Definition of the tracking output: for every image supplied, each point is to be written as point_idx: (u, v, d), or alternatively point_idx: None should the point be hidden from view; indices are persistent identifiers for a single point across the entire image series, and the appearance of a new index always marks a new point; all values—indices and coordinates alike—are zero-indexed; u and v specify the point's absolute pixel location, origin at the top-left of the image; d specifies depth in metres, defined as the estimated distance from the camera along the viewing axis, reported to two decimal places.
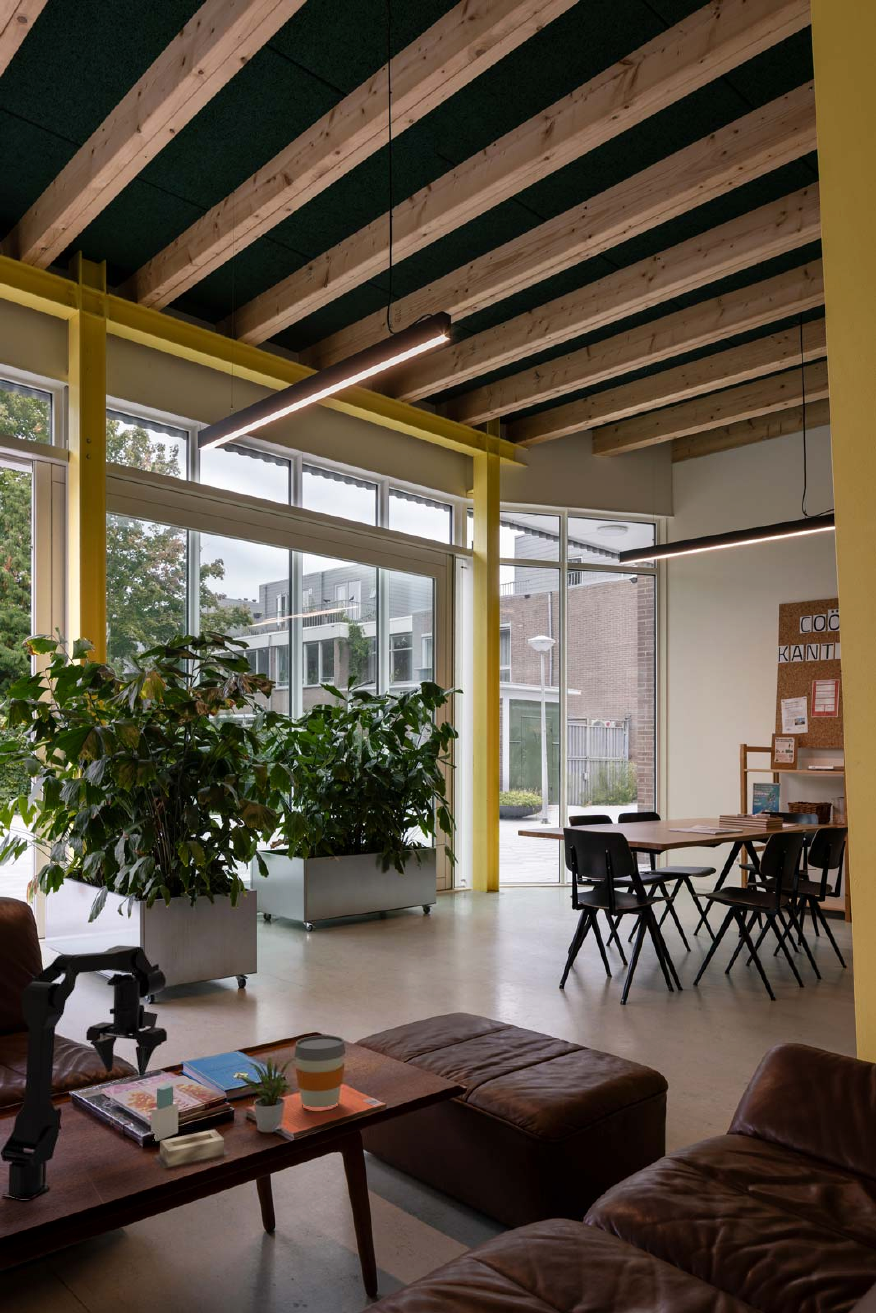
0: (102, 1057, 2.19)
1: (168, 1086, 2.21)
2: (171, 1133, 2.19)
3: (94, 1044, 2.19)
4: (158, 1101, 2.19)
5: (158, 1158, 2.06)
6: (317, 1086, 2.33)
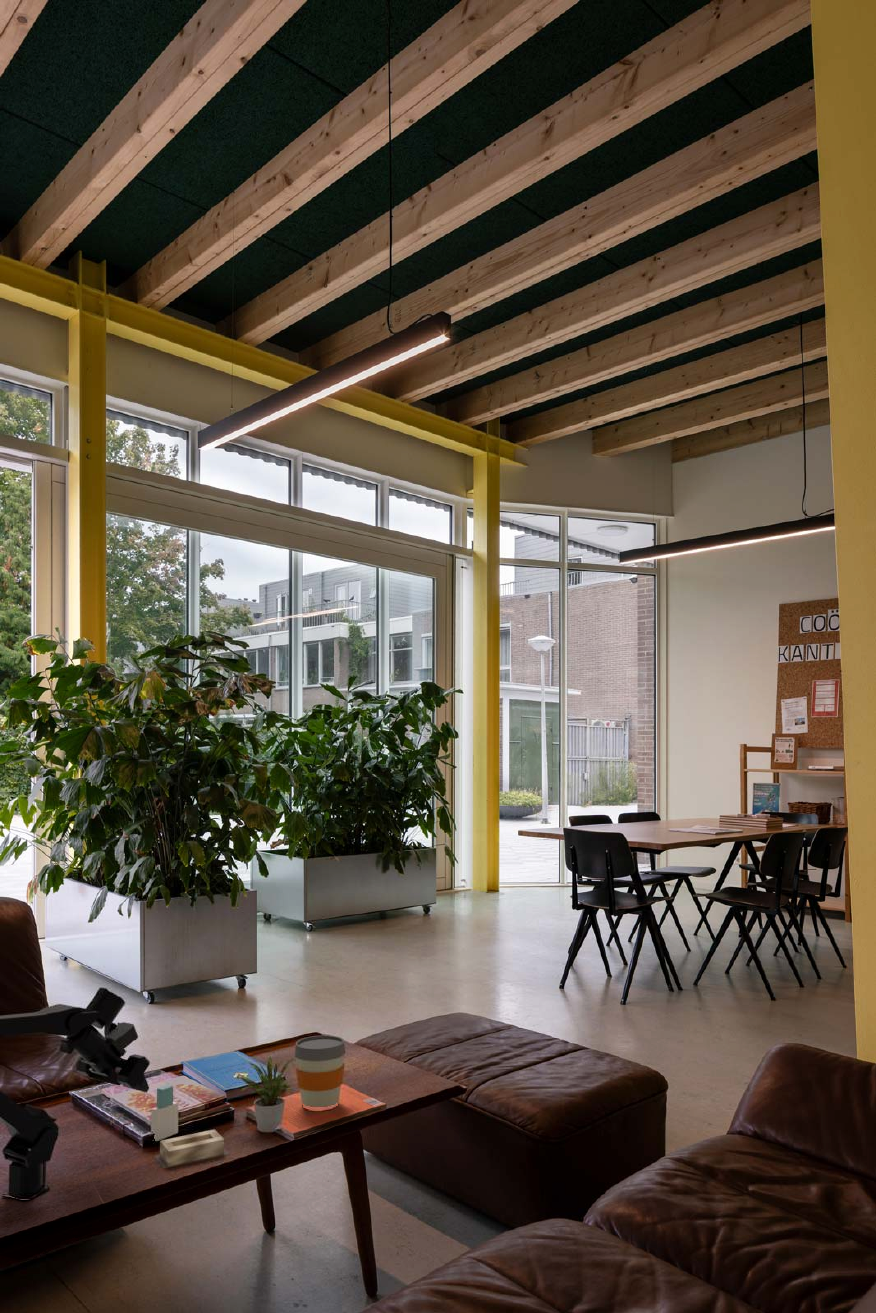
0: (105, 1081, 2.13)
1: (168, 1086, 2.21)
2: (171, 1133, 2.19)
3: (90, 1077, 2.12)
4: (158, 1101, 2.19)
5: (158, 1158, 2.06)
6: (317, 1086, 2.33)
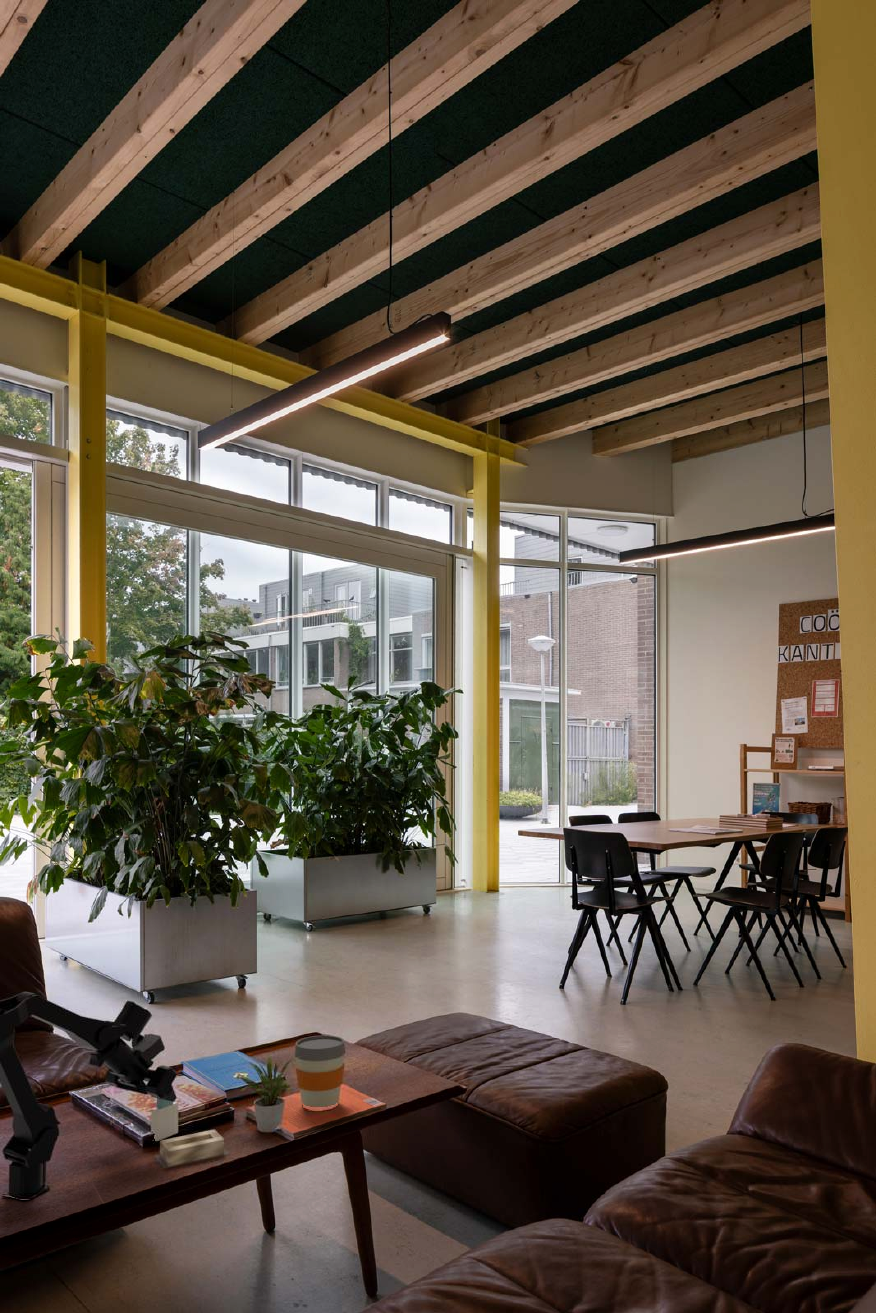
0: (133, 1091, 2.19)
1: None
2: (171, 1133, 2.19)
3: (118, 1087, 2.18)
4: (158, 1101, 2.19)
5: (158, 1158, 2.06)
6: (317, 1086, 2.33)
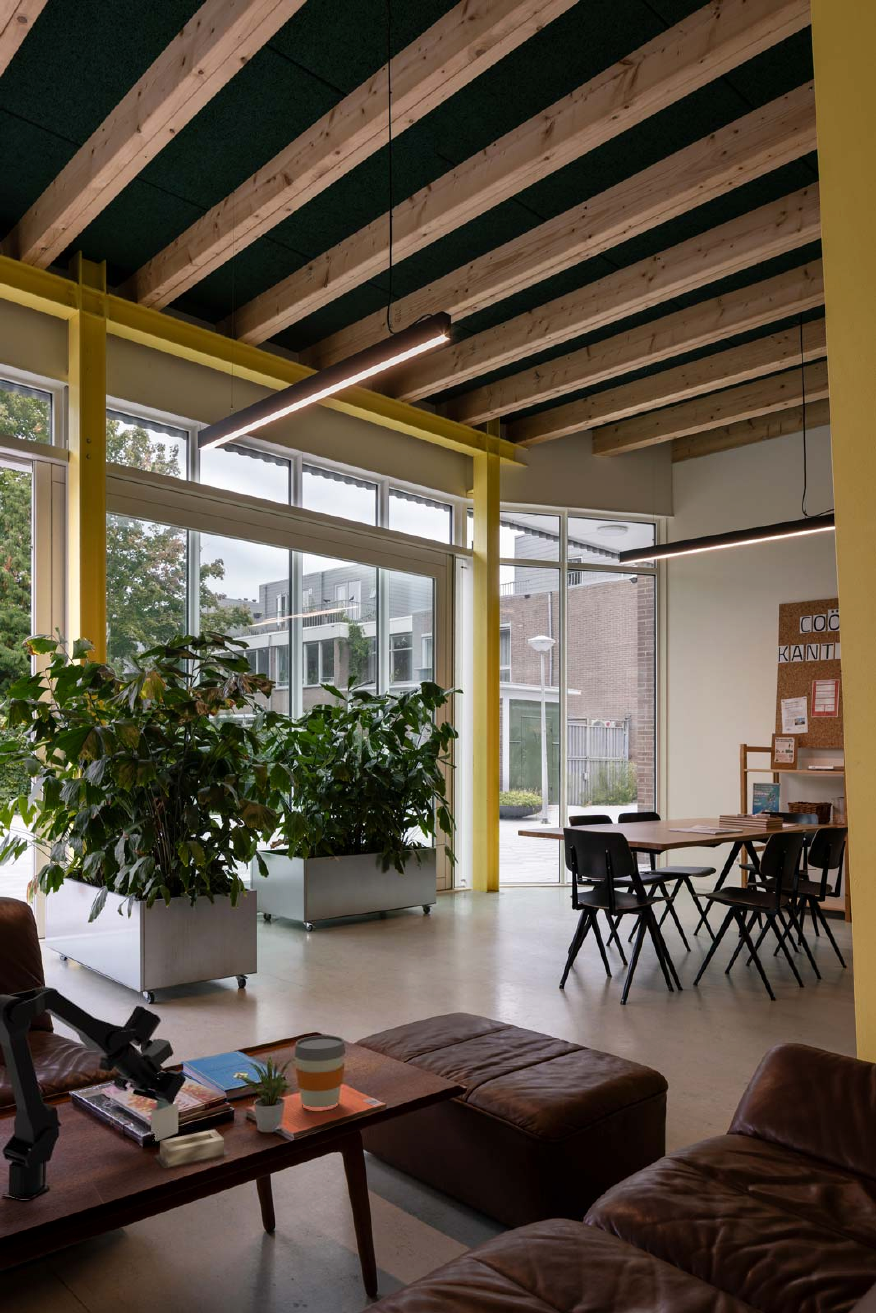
0: None
1: None
2: (171, 1133, 2.19)
3: None
4: (158, 1101, 2.19)
5: (158, 1158, 2.06)
6: (317, 1086, 2.33)
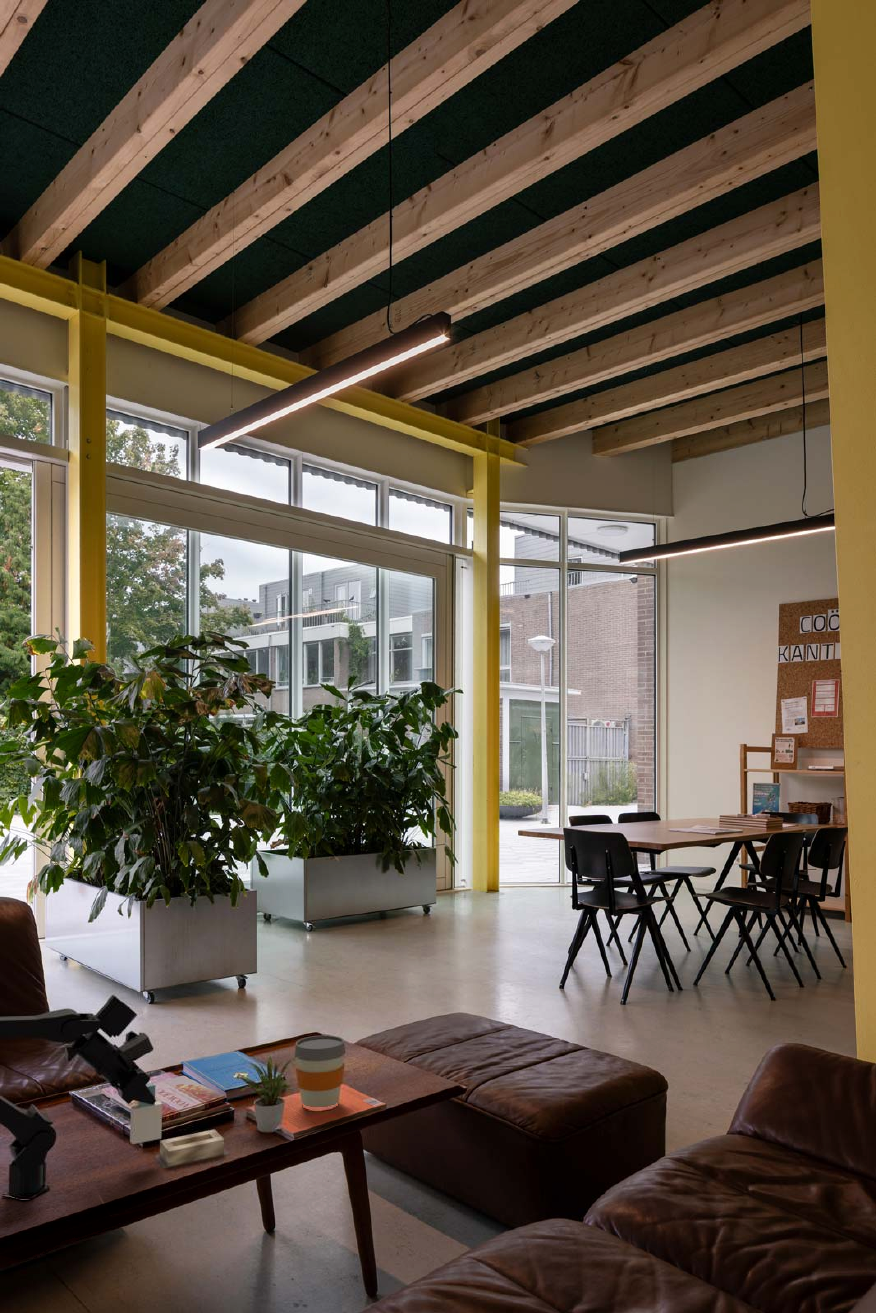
0: None
1: (151, 1084, 2.05)
2: (152, 1136, 2.04)
3: (117, 1089, 2.05)
4: None
5: (158, 1158, 2.06)
6: (317, 1086, 2.33)
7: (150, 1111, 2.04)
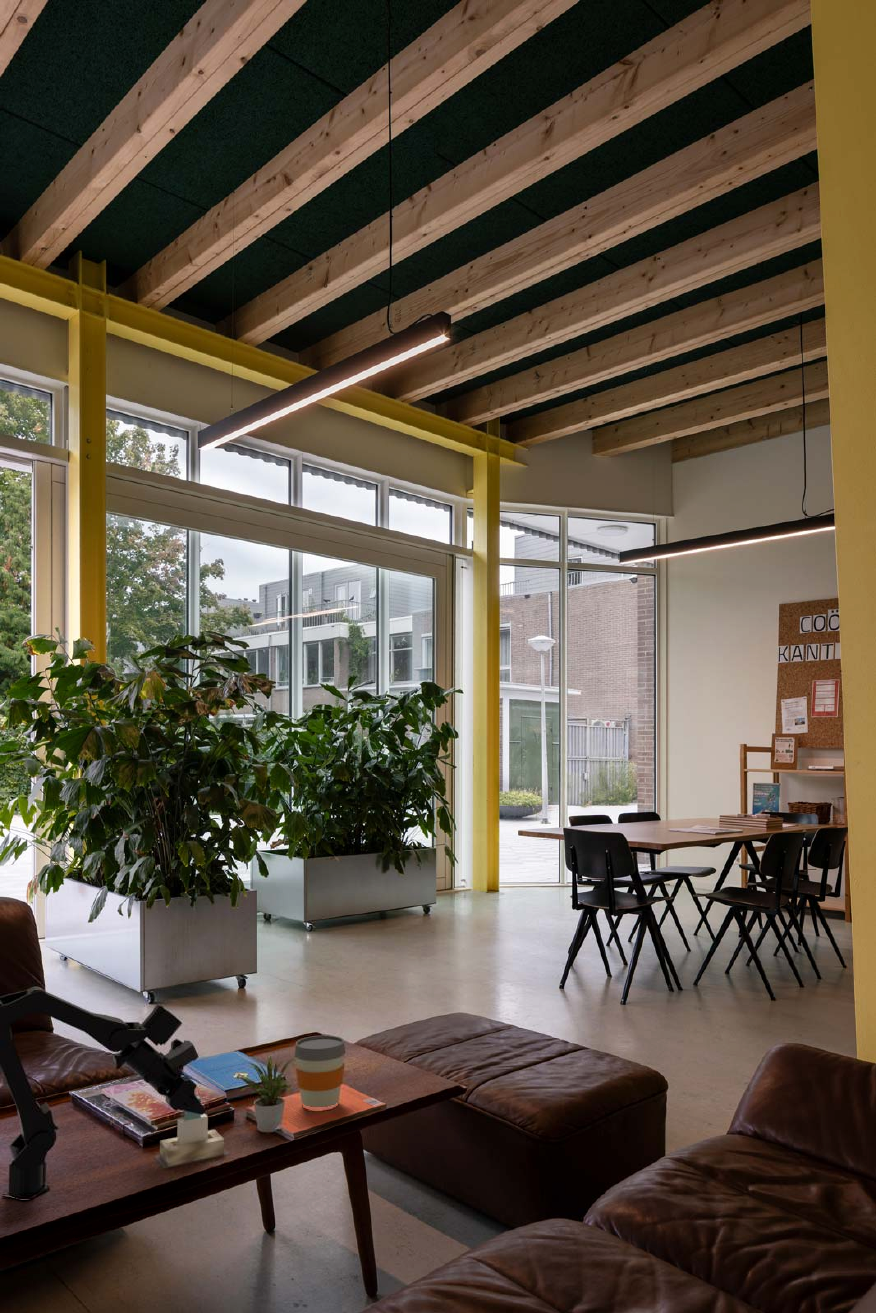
0: None
1: None
2: None
3: None
4: (185, 1112, 2.08)
5: (158, 1158, 2.06)
6: (317, 1086, 2.33)
7: (196, 1124, 2.08)
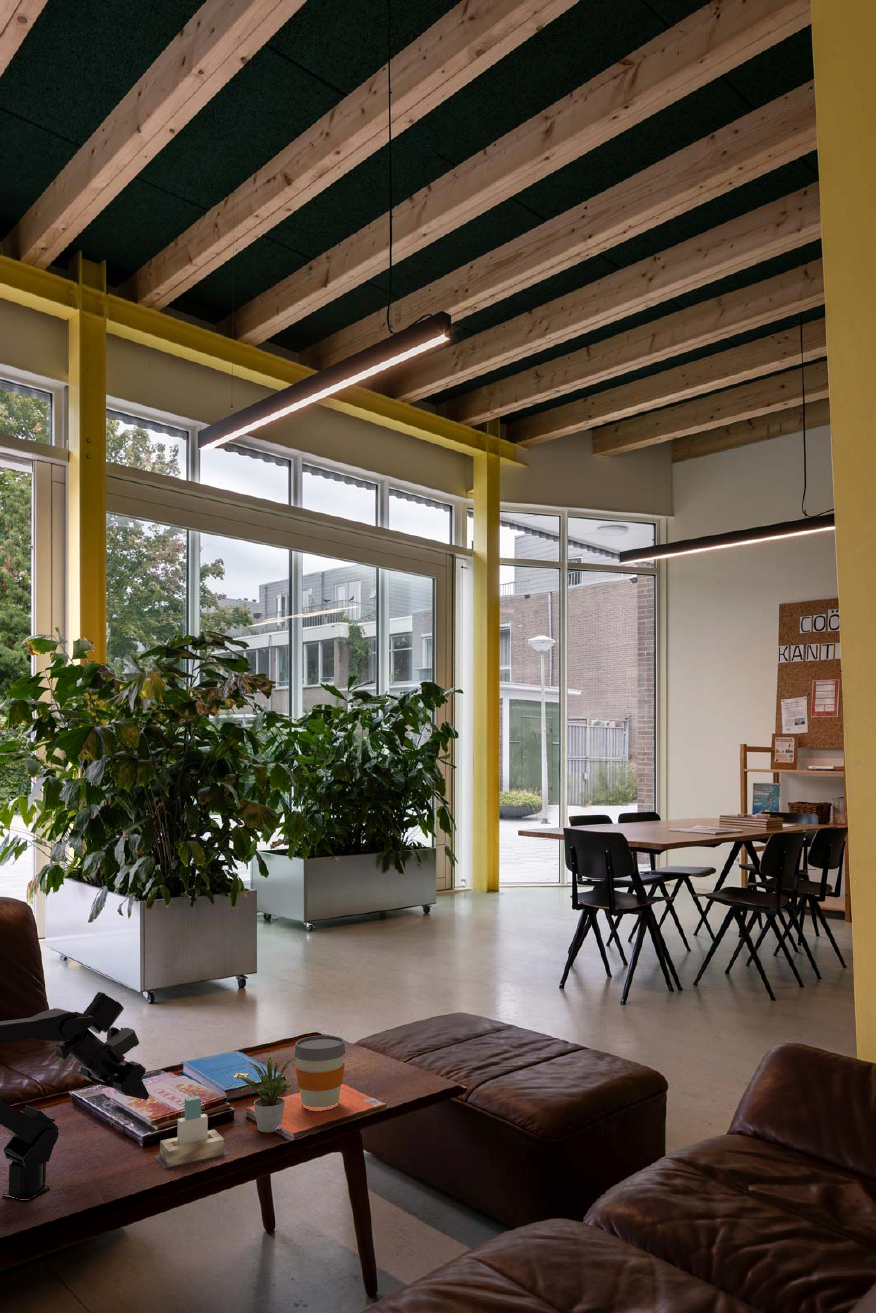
0: (109, 1086, 2.11)
1: (196, 1097, 2.09)
2: None
3: None
4: (185, 1112, 2.08)
5: (158, 1158, 2.06)
6: (317, 1086, 2.33)
7: (196, 1124, 2.08)
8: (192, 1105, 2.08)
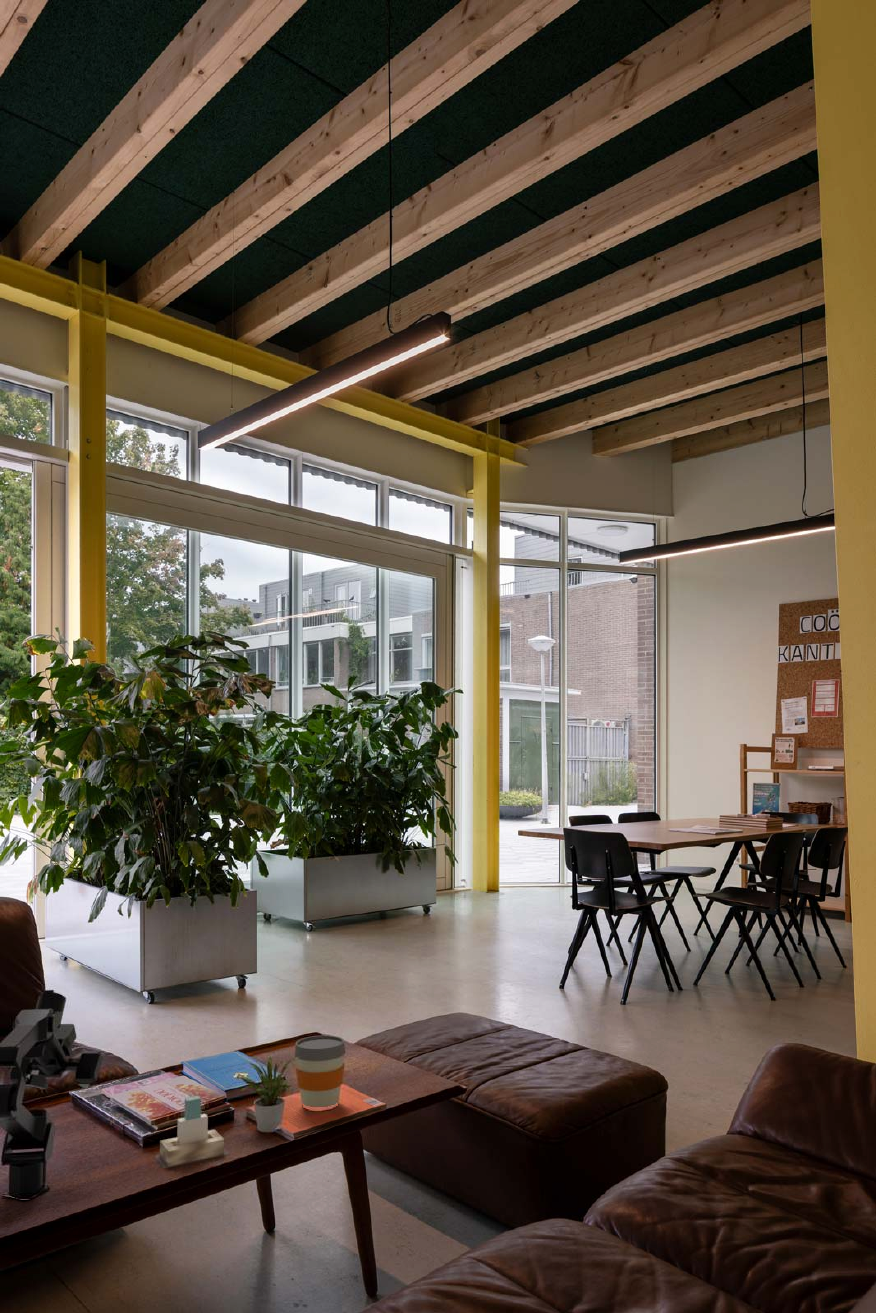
0: (36, 1086, 2.10)
1: (196, 1097, 2.09)
2: None
3: None
4: (185, 1112, 2.08)
5: (158, 1158, 2.06)
6: (317, 1086, 2.33)
7: (196, 1124, 2.08)
8: (192, 1105, 2.08)
